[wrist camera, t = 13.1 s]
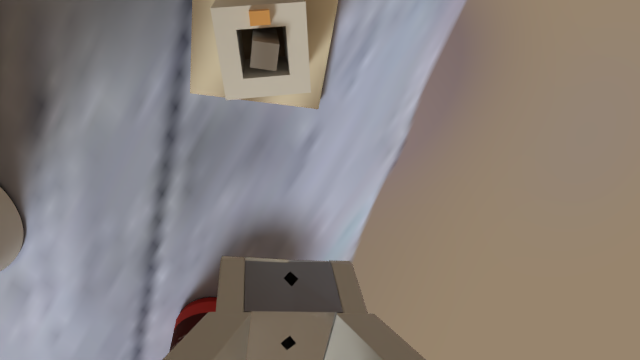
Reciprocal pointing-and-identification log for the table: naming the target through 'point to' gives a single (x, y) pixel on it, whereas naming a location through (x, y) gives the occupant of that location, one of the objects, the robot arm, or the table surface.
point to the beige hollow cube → (238, 77)
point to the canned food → (191, 317)
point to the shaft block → (261, 52)
